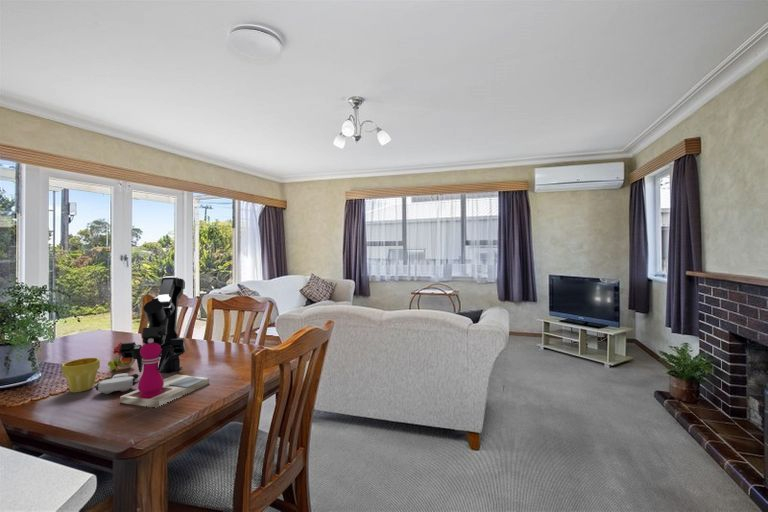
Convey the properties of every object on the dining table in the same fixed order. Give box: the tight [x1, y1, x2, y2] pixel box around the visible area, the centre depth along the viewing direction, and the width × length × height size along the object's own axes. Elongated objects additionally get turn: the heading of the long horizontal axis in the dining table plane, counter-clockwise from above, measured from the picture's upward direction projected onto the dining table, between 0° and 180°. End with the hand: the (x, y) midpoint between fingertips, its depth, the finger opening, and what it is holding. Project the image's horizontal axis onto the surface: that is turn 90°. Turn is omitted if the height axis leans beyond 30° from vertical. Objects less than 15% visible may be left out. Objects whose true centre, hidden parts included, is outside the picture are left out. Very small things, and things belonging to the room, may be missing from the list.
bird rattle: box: [107, 342, 137, 372], centre depth 153 cm, size 6×11×9 cm
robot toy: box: [91, 372, 141, 395], centre depth 131 cm, size 12×4×15 cm
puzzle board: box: [119, 374, 210, 409], centre depth 127 cm, size 15×22×2 cm
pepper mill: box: [137, 338, 164, 399], centre depth 122 cm, size 7×7×20 cm
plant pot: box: [61, 357, 101, 393], centre depth 131 cm, size 10×10×10 cm
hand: (149, 370), depth 121 cm, fingers closed on pepper mill, 5 cm apart
